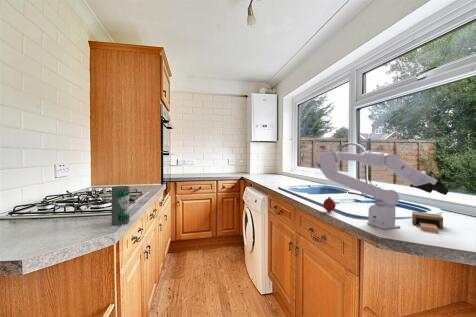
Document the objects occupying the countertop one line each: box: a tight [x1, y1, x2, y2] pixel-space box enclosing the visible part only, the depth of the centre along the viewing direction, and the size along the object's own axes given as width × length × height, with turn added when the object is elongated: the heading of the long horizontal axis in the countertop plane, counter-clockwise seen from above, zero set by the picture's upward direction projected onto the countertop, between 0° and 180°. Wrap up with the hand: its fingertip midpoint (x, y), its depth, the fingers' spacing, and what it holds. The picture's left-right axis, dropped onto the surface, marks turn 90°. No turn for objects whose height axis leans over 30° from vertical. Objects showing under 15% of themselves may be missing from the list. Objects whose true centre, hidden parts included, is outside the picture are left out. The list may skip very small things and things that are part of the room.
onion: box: [322, 196, 337, 213], centre depth 112 cm, size 6×6×8 cm
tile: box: [419, 223, 439, 234], centre depth 87 cm, size 6×5×2 cm
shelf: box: [411, 211, 444, 230], centre depth 93 cm, size 6×10×4 cm, turn 54°
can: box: [111, 185, 130, 226], centre depth 90 cm, size 6×6×15 cm
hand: (438, 191), depth 88 cm, fingers open, 7 cm apart
